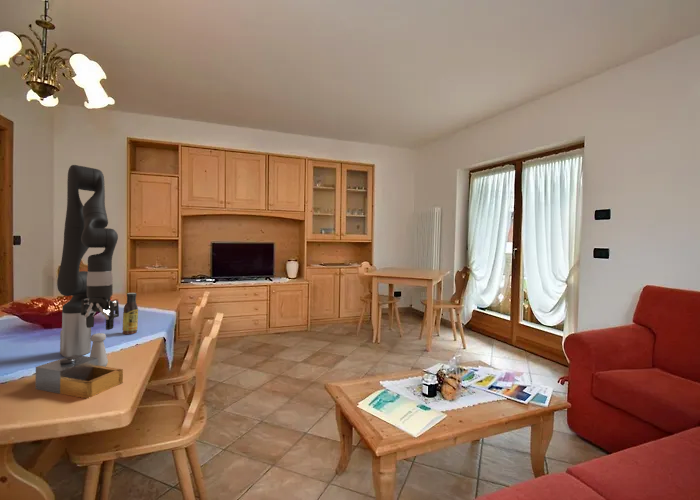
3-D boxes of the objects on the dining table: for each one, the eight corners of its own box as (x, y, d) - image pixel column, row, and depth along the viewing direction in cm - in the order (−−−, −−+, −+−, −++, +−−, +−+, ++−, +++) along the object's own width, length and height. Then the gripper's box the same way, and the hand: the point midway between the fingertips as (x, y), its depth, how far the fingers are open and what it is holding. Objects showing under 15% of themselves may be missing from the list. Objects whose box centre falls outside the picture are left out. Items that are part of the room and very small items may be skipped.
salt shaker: (94, 366, 126) (95, 331, 126) (111, 366, 127) (111, 331, 126) (84, 372, 120) (84, 336, 120) (101, 372, 121) (101, 336, 121)
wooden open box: (25, 387, 108) (26, 362, 108) (65, 373, 119) (66, 350, 119) (87, 398, 102) (87, 372, 102) (122, 382, 114) (123, 359, 113)
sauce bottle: (130, 335, 165) (130, 294, 165) (119, 334, 166) (119, 293, 166) (140, 332, 172) (141, 292, 171) (130, 330, 173) (131, 291, 172)
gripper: (73, 283, 121) (73, 329, 121) (106, 286, 118) (106, 332, 118) (94, 281, 128) (94, 324, 129) (125, 283, 125) (125, 327, 125)
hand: (99, 328), depth 123 cm, fingers open, 8 cm apart
